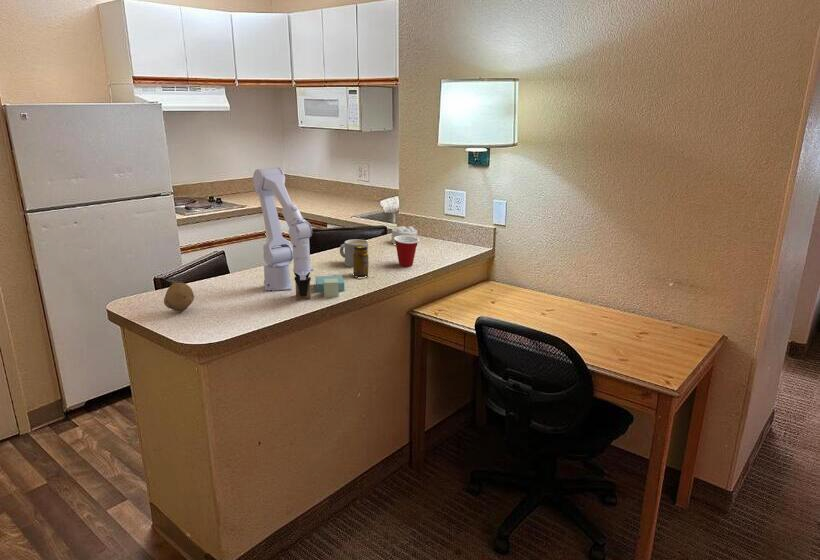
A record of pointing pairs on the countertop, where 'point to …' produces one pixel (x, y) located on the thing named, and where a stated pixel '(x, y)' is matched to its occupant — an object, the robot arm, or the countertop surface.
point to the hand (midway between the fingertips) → (303, 293)
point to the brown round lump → (179, 297)
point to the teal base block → (320, 278)
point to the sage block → (331, 287)
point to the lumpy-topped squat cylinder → (403, 232)
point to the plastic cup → (406, 249)
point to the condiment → (360, 262)
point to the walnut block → (303, 296)
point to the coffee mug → (351, 250)
